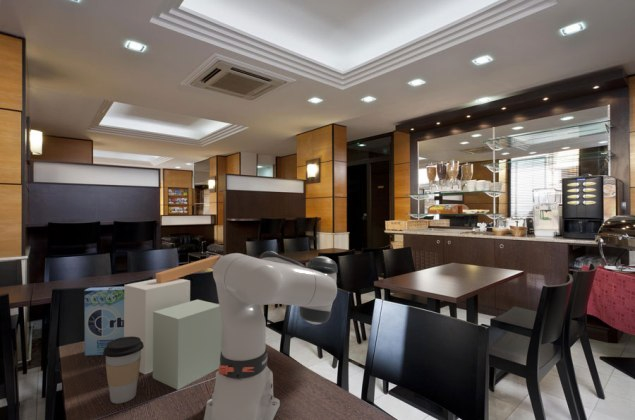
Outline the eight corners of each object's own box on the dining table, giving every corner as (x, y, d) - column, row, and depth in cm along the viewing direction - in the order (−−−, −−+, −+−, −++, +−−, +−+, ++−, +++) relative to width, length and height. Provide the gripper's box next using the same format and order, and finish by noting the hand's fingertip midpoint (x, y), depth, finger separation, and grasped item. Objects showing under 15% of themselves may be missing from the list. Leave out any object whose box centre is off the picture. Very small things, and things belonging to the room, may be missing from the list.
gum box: (148, 347, 121) (149, 285, 121) (143, 353, 116) (144, 288, 116) (91, 350, 118) (91, 286, 118) (83, 356, 113) (83, 289, 113)
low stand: (196, 357, 113) (197, 299, 113) (221, 367, 107) (222, 305, 107) (152, 378, 99) (153, 311, 99) (177, 389, 93) (178, 319, 93)
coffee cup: (117, 387, 94) (118, 334, 94) (150, 388, 94) (150, 335, 94) (94, 407, 84) (94, 348, 84) (130, 408, 84) (130, 349, 84)
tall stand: (168, 347, 121) (168, 276, 121) (189, 355, 115) (190, 280, 115) (123, 364, 108) (124, 284, 108) (144, 374, 101) (145, 289, 101)
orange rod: (218, 262, 133) (217, 255, 133) (223, 263, 132) (222, 255, 131) (156, 282, 112) (155, 273, 112) (161, 283, 110) (160, 274, 110)
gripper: (253, 280, 134) (231, 267, 124) (217, 274, 144) (195, 262, 134) (258, 265, 136) (237, 251, 126) (223, 261, 147) (201, 248, 137)
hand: (215, 257), depth 130 cm, fingers closed on orange rod, 3 cm apart
